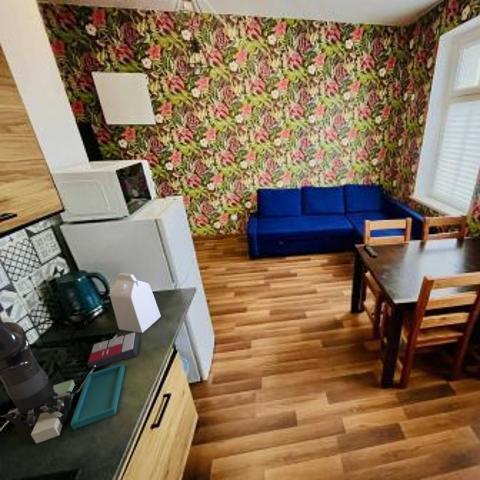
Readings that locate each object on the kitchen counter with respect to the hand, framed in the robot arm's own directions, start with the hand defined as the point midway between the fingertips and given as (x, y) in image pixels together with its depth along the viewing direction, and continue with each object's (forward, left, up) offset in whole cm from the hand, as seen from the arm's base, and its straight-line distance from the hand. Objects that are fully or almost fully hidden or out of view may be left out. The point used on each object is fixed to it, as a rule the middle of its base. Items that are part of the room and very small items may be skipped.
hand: (52, 425), depth 81 cm
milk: (+19, +43, -1) cm, 47 cm away
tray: (+11, +6, 0) cm, 13 cm away
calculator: (+12, +26, -1) cm, 29 cm away
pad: (0, 0, 0) cm, 0 cm away
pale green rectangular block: (0, +9, 0) cm, 10 cm away
